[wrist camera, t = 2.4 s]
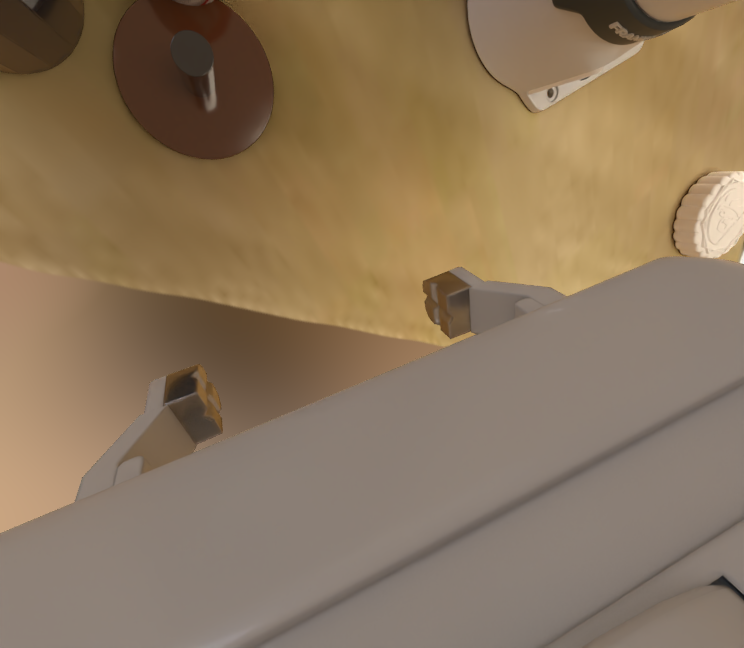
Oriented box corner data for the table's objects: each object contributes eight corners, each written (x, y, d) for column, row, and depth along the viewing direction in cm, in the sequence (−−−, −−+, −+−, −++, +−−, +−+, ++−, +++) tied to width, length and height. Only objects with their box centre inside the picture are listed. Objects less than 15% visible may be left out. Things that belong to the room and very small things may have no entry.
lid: (238, -20, 29) (243, -85, 22) (291, 138, 34) (310, 128, 27) (82, 12, 26) (30, -49, 19) (164, 177, 31) (146, 177, 24)
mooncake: (719, 152, 53) (750, 150, 49) (739, 210, 58) (768, 212, 55) (661, 220, 53) (688, 222, 50) (686, 271, 59) (712, 277, 56)
